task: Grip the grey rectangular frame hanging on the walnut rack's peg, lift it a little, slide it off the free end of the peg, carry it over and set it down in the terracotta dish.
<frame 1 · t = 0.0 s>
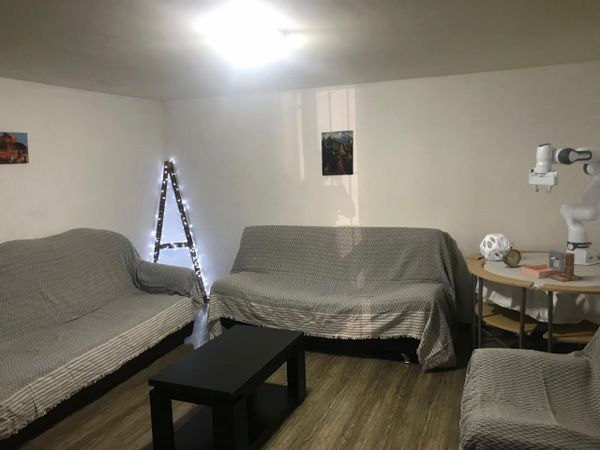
hand: (542, 192, 298), 48 cm above the table, tool pointing down, fingers open, 8 cm apart
dish: (542, 274, 289), on the table
grey rectangular frame: (556, 269, 274), point 6 cm above the table, touching rack
alarm clock: (510, 267, 308), on the table
decorative ball: (494, 259, 331), on the table
rack: (568, 277, 278), on the table
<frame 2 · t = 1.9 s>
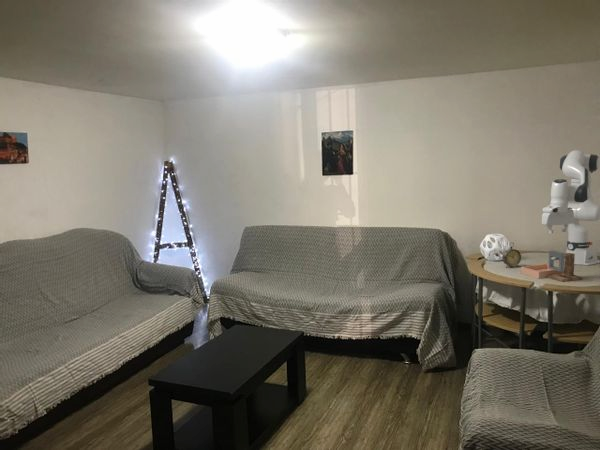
hand: (557, 232, 271), 28 cm above the table, tool pointing down, fingers open, 8 cm apart
nothing on the table moved.
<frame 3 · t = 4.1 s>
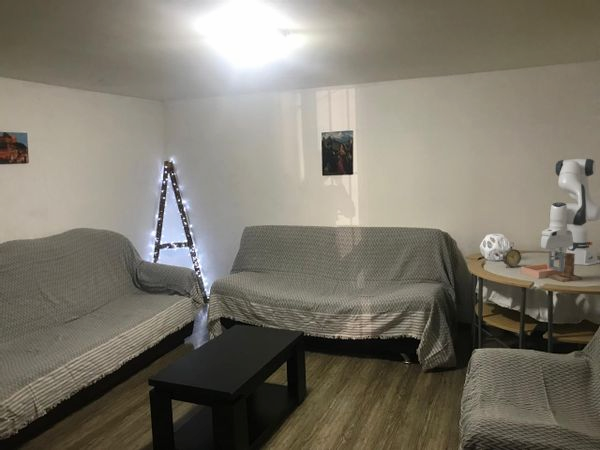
hand: (556, 255, 273), 14 cm above the table, tool pointing down, fingers closed on grey rectangular frame, 2 cm apart
grey rectangular frame: (556, 269, 274), point 6 cm above the table, touching gripper, rack
everything else where it was.
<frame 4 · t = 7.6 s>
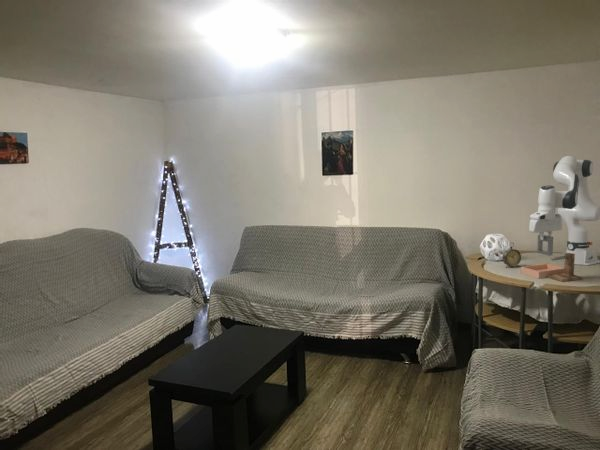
hand: (545, 239, 269), 24 cm above the table, tool pointing down, fingers closed on grey rectangular frame, 2 cm apart
grey rectangular frame: (544, 253, 270), point 16 cm above the table, touching gripper
everything else where it was.
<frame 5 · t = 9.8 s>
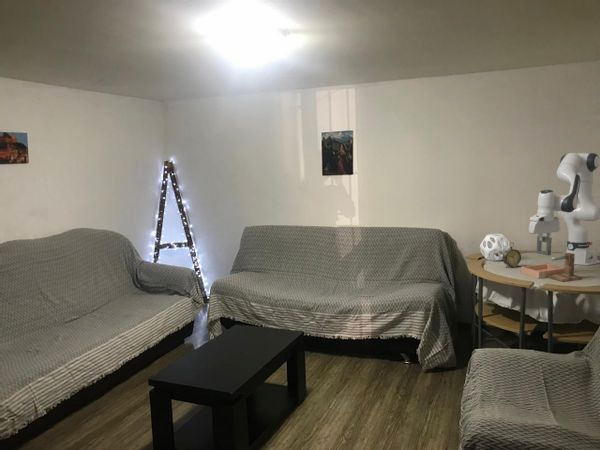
hand: (544, 240, 286), 21 cm above the table, tool pointing down, fingers closed on grey rectangular frame, 2 cm apart
grey rectangular frame: (543, 254, 287), point 12 cm above the table, touching gripper
everything else where it was.
when the fingers open (11 cm above the table, at t = 11.3 s): grey rectangular frame drops 2 cm, resting on dish.
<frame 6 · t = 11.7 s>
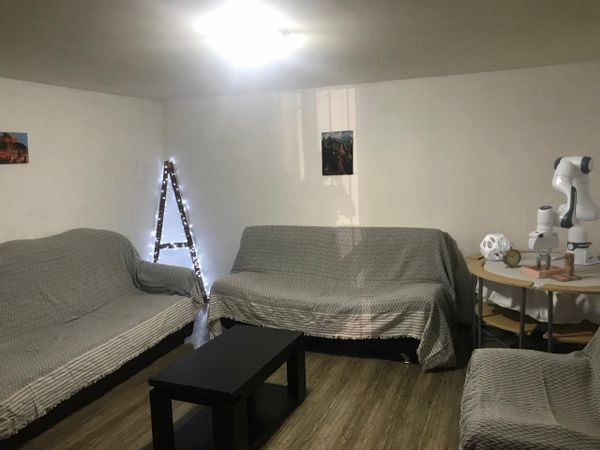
hand: (543, 256, 287), 11 cm above the table, tool pointing down, fingers open, 6 cm apart
grey rectangular frame: (543, 272, 288), point 1 cm above the table, touching dish
everything else where it was.
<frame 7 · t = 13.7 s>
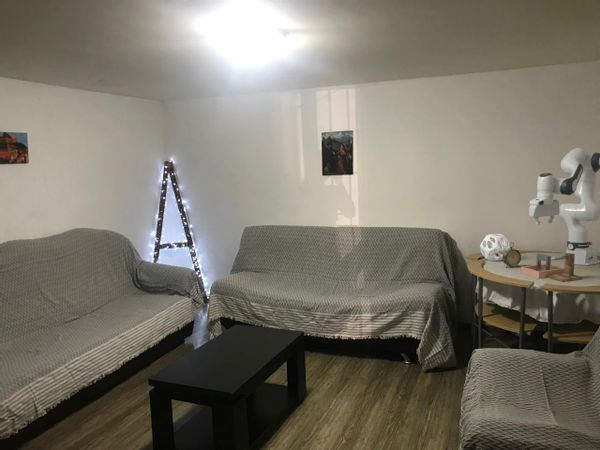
hand: (544, 223, 287), 30 cm above the table, tool pointing down, fingers open, 8 cm apart
nothing on the table moved.
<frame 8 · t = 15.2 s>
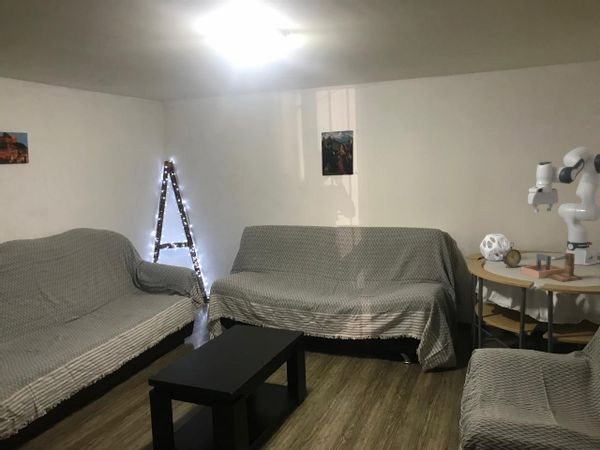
hand: (542, 211, 290), 37 cm above the table, tool pointing down, fingers open, 8 cm apart
nothing on the table moved.
at the end: grey rectangular frame inside the target area on the dish (0.1 cm from its centre), point 1.2 cm above the dish's base; grey rectangular frame touching dish; the gripper is holding nothing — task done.
